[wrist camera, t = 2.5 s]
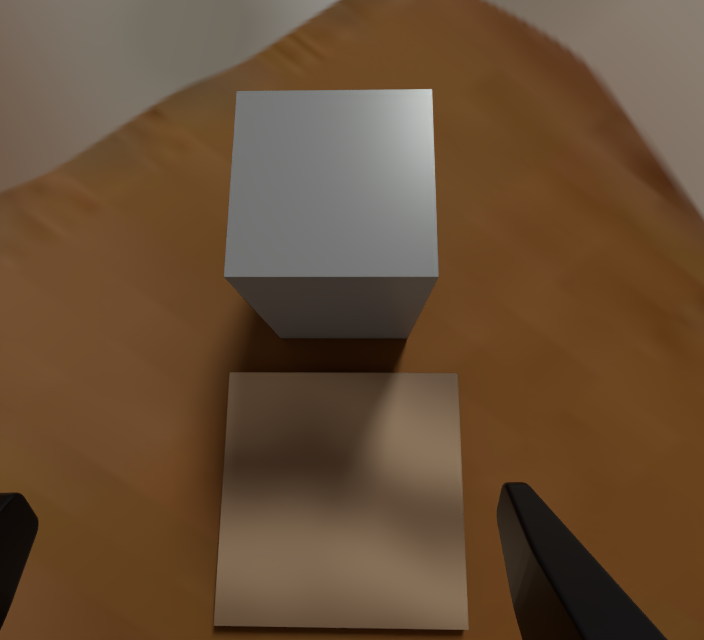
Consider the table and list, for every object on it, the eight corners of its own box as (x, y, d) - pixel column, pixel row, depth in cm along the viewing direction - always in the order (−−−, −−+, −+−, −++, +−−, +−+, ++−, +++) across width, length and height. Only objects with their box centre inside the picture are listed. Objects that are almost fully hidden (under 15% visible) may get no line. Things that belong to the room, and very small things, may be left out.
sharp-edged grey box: (407, 338, 24) (438, 276, 14) (280, 338, 24) (224, 276, 14) (405, 219, 25) (431, 89, 16) (285, 220, 25) (236, 91, 16)
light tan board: (465, 624, 21) (468, 630, 20) (218, 620, 21) (213, 625, 21) (455, 374, 23) (457, 373, 23) (232, 373, 24) (229, 372, 23)
